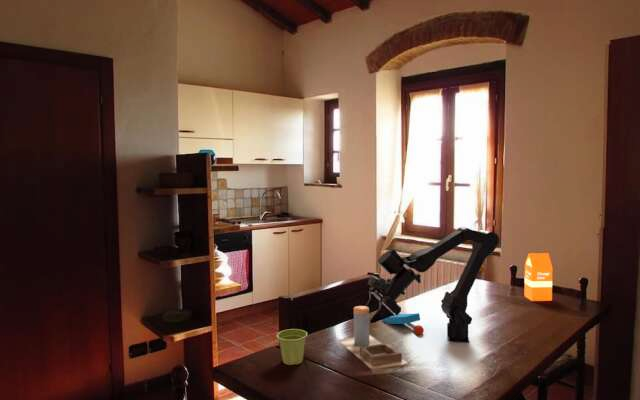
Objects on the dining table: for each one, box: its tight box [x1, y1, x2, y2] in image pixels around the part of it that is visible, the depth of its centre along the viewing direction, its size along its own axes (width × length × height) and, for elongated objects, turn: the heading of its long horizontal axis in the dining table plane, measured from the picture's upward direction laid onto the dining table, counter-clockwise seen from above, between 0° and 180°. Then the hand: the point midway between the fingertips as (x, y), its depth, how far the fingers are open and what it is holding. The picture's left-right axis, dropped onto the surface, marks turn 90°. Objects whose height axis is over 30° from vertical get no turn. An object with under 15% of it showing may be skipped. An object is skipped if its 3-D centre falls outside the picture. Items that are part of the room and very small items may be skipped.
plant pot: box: [276, 328, 308, 366], centre depth 148 cm, size 9×9×9 cm
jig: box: [337, 334, 409, 374], centre depth 153 cm, size 26×12×4 cm, turn 20°
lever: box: [380, 312, 425, 336], centre depth 177 cm, size 7×7×18 cm
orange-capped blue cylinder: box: [353, 305, 370, 347], centre depth 159 cm, size 5×5×12 cm
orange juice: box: [524, 252, 553, 302], centre depth 211 cm, size 8×9×20 cm
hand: (367, 318), depth 159 cm, fingers open, 9 cm apart
